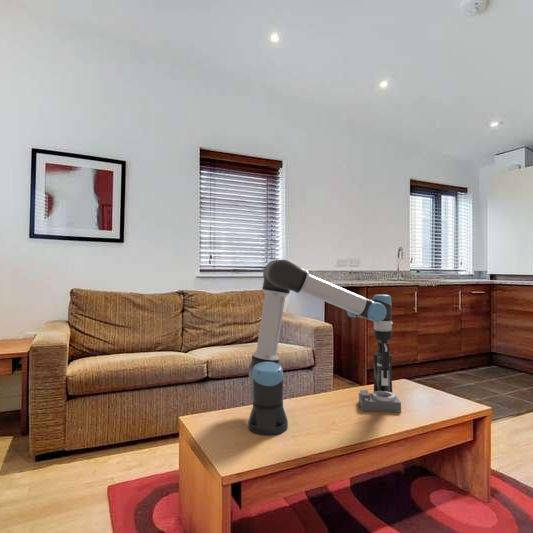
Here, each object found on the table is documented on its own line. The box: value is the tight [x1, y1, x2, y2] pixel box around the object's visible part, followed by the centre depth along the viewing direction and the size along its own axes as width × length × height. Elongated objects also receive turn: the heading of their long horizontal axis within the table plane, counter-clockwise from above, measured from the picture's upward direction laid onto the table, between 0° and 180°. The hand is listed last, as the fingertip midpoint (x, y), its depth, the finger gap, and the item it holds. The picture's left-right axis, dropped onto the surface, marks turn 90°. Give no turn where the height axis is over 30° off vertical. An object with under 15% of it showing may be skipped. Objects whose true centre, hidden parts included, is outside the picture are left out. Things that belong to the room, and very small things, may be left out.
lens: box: [377, 356, 390, 391], centre depth 164 cm, size 5×5×14 cm
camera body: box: [358, 389, 402, 413], centre depth 164 cm, size 16×11×6 cm
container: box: [372, 351, 393, 393], centre depth 180 cm, size 9×9×20 cm
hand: (383, 383), depth 164 cm, fingers closed on lens, 5 cm apart
